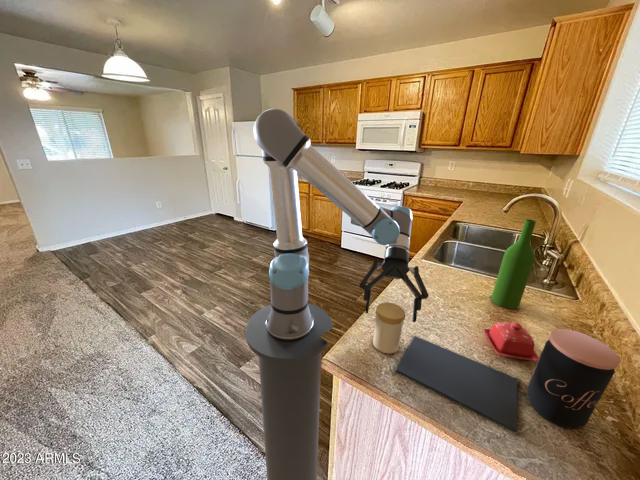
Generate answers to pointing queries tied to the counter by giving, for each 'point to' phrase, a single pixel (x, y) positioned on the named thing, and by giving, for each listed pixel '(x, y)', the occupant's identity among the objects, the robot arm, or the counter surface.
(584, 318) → the counter surface
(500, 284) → the wine bottle
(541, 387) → the coffee jar
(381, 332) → the cream-colored jar
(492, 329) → the butter dish
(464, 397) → the mat
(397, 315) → the lid
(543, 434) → the counter surface
